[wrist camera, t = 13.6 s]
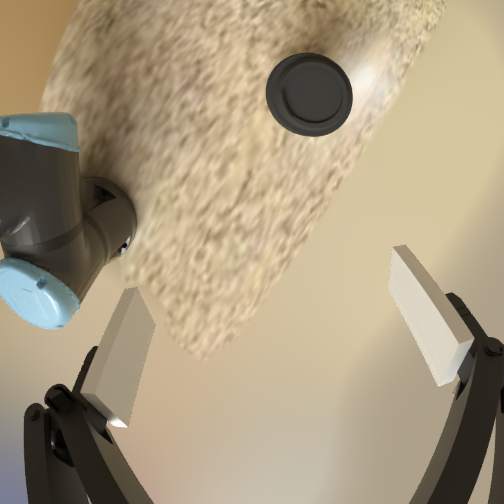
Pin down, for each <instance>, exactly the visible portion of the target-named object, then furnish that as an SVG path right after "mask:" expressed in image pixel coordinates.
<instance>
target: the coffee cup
mask: <svg viewBox="0 0 504 504" xmlns="http://www.w3.org/2000/svg"><path fill="white" fill-rule="evenodd" d="M266 100H267V104H268V107H269V109H270V112H271V113H272V115H273V117H274V118H275V119H276V120H277V122H278V123H279V124H281V125H282V126H283V127H284V128H286V129H287V130H289V131H291V132H293V133H296V134H299V135H303V136H311V137H318V136H324V135H327V134H330V133H332V132H334V131H335V130H337V129H338V128H339V127H340V126H342V124H343V123H344V122H345V121H346V119H347V118H348V116H349V114H350V111H351V108H352V102H353V94H352V87H351V84H350V81H349V79H348V77H347V75H346V74H345V72H344V71H343V70H342V68H341V67H340V66H339V65H338V64H336V63H335V62H334V61H332V60H331V59H329V58H327V57H325V56H322V55H319V54H315V53H300V54H296V55H292V56H290V57H288V58H286V59H284V60H283V61H281V62H280V63H279V64H278V65H277V66H276V67H275V68H274V69H273V71H272V72H271V74H270V76H269V78H268V81H267V85H266Z"/></svg>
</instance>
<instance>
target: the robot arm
mask: <svg viewBox="0 0 504 504" xmlns="http://www.w3.org/2000/svg"><path fill="white" fill-rule="evenodd" d="M79 152H80V148H79V147H78V135H77V123H76V120H75V118H74V117H73V116H72V115H70V114H68V113H63V112H48V113H28V114H14V115H5V116H0V242H1V246H2V250H3V253H4V259H1V260H0V295H1V297H2V298H3V299H4V301H5V302H6V303H7V305H8V306H9V307H10V308H11V309H12V310H13V311H14V312H15V313H17V314H18V315H19V316H20V317H22V318H23V319H24V320H26V321H28V322H30V323H31V324H33V325H36V326H38V327H41V328H46V329H59V328H62V327H64V326H65V325H66V324H67V323H68V322H69V321H70V320H71V318H72V317H73V315H74V314H75V313H76V312H77V311H78V310H79V308H80V304H81V303H82V301H83V299H84V298H85V296H86V294H87V292H88V291H89V289H90V287H91V286H92V284H93V283H94V281H95V279H96V278H97V276H98V274H99V273H100V271H101V270H102V268H103V267H104V266H105V265H107V264H108V263H110V262H112V261H114V260H116V259H117V258H119V257H120V256H121V255H123V254H124V253H125V252H126V250H127V249H128V247H129V246H130V244H131V243H132V241H133V239H134V236H135V233H136V215H135V211H134V208H133V206H132V204H131V202H130V200H129V198H128V197H127V196H126V194H125V193H124V192H123V191H122V190H121V189H120V188H119V187H118V186H116V185H115V184H114V183H112V182H110V181H108V180H105V179H102V178H97V177H89V178H84V179H81V180H80V173H79ZM388 290H389V292H390V294H391V296H392V298H393V299H394V301H395V303H396V305H397V306H398V308H399V310H400V312H401V314H402V316H403V317H404V319H405V321H406V323H407V324H408V327H409V329H410V330H411V332H412V334H413V336H414V338H415V340H416V342H417V344H418V346H419V348H420V350H421V352H422V354H423V356H424V358H425V360H426V362H427V364H428V366H429V368H430V370H431V372H432V374H433V377H434V379H435V381H436V383H437V385H438V386H441V385H444V384H446V383H449V382H451V381H453V379H454V378H455V376H456V374H457V373H458V375H459V377H460V381H459V382H458V384H457V386H456V387H455V389H454V391H453V393H455V392H456V393H455V397H454V400H453V403H452V406H451V409H450V412H449V415H448V418H447V421H446V424H445V427H444V429H443V432H442V434H441V437H440V440H439V442H438V445H437V447H436V450H435V452H434V454H433V457H432V459H431V461H430V463H429V466H428V468H427V470H426V472H425V474H424V476H423V478H422V480H421V483H420V484H419V486H418V489H417V490H416V492H415V494H414V496H413V498H412V499H411V501H410V503H409V504H467V503H468V501H469V499H470V496H471V494H472V491H473V489H474V486H475V484H476V481H477V478H478V476H479V473H480V470H481V467H482V464H483V461H484V458H485V455H486V452H487V448H488V445H489V441H490V437H491V433H492V430H493V426H494V421H495V417H496V436H495V454H494V465H493V474H492V481H491V488H490V494H489V500H488V504H504V344H502V343H501V342H500V341H499V340H498V339H496V338H493V337H488V336H487V335H486V333H485V332H484V330H483V329H482V328H481V326H480V325H479V323H478V322H477V320H476V319H475V317H474V316H473V315H472V314H471V312H470V311H469V309H468V308H466V305H465V304H464V302H463V301H462V300H461V298H459V297H458V296H456V295H455V294H454V293H448V294H444V293H443V292H442V290H441V289H440V288H439V286H438V285H437V284H436V282H435V281H434V280H433V279H432V277H431V276H430V274H429V273H428V272H427V271H426V269H425V268H424V267H423V265H422V264H421V263H420V262H419V260H418V259H417V258H416V257H415V256H414V254H413V253H412V252H411V251H410V249H409V248H408V247H407V246H406V245H401V246H395V247H393V248H392V259H391V269H390V278H389V286H388ZM154 329H155V323H154V321H153V319H152V317H151V315H150V313H149V311H148V309H147V307H146V305H145V303H144V301H143V299H142V297H141V294H140V292H139V290H138V288H137V287H135V288H128V289H125V290H124V292H123V294H122V296H121V298H120V300H119V302H118V304H117V306H116V309H115V311H114V313H113V315H112V317H111V319H110V321H109V324H108V326H107V328H106V330H105V332H104V335H103V337H102V339H101V342H100V344H99V346H94V347H93V348H92V349H91V350H90V351H89V353H88V354H87V356H86V358H85V360H84V364H83V365H82V368H81V371H80V372H79V375H78V377H77V380H76V382H75V385H74V387H73V390H72V392H71V391H70V390H69V389H68V388H67V387H66V386H65V385H63V384H56V385H54V386H52V387H51V388H50V389H49V390H48V391H47V393H46V395H45V398H44V402H45V404H47V406H49V408H47V409H45V408H44V407H43V406H42V405H41V404H39V403H33V404H32V405H30V406H29V407H28V408H27V410H26V412H25V416H24V461H25V476H26V486H27V494H28V502H29V504H89V502H88V498H87V495H88V497H89V499H90V501H91V503H92V504H154V503H153V501H152V500H151V499H150V497H149V496H148V494H147V493H146V491H145V490H144V488H143V487H142V485H141V484H140V482H139V481H138V479H137V478H136V476H135V474H134V473H133V471H132V470H131V468H130V466H129V465H128V463H127V461H126V459H125V458H124V456H123V454H122V453H121V451H120V449H119V447H118V445H117V444H116V442H115V440H114V438H113V436H112V434H111V432H110V430H109V429H108V428H107V426H106V423H107V420H108V421H109V422H110V423H111V424H112V425H114V426H118V427H128V426H129V422H130V418H131V413H132V409H133V405H134V401H135V397H136V393H137V389H138V385H139V381H140V378H141V374H142V371H143V367H144V363H145V360H146V356H147V352H148V349H149V346H150V342H151V339H152V336H153V332H154ZM86 493H87V494H86Z"/></svg>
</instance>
